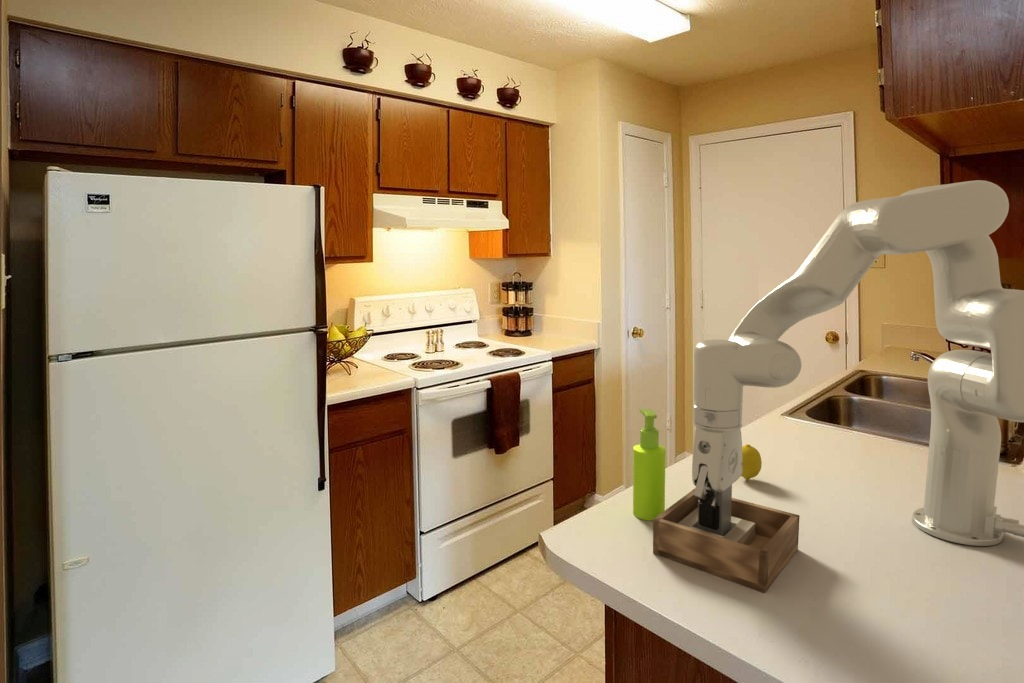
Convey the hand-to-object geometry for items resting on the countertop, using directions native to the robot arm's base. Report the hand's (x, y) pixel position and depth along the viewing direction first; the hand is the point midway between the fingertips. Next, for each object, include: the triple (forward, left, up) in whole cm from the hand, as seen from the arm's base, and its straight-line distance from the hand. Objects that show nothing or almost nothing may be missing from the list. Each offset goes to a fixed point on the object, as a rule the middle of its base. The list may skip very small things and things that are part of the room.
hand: (714, 520), depth 96 cm
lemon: (+6, -32, -5) cm, 33 cm away
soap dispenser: (+15, -5, -5) cm, 17 cm away
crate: (-2, 0, -5) cm, 5 cm away
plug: (0, 0, -2) cm, 2 cm away
